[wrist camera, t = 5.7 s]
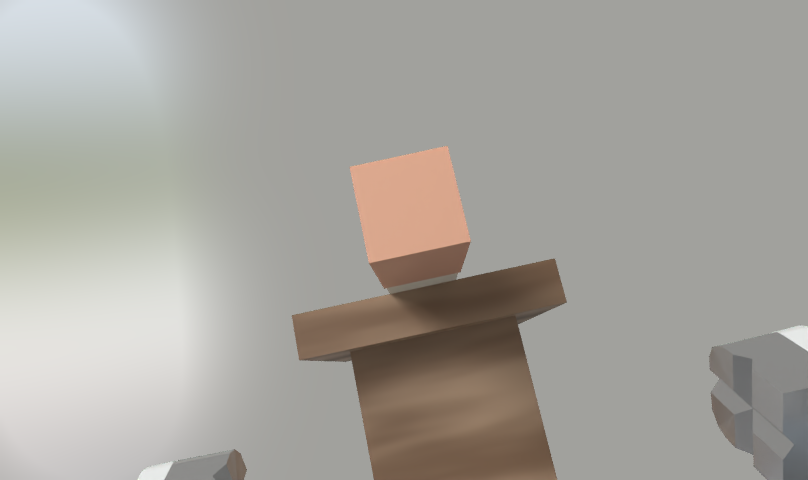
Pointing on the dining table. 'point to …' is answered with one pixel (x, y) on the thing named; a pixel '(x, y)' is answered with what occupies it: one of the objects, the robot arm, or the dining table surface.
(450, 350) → the walnut stand
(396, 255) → the white stick tan end
